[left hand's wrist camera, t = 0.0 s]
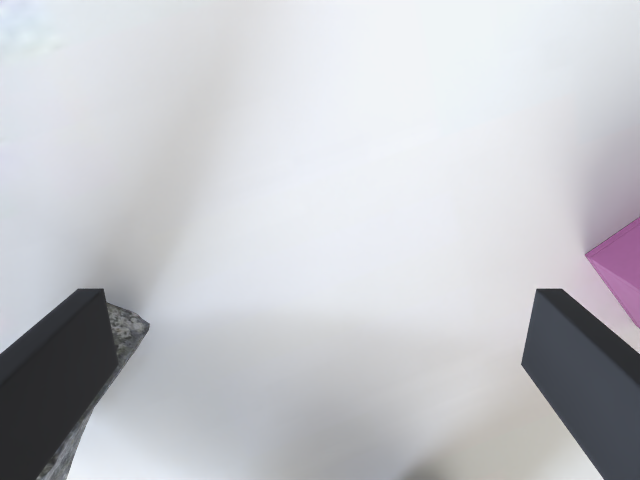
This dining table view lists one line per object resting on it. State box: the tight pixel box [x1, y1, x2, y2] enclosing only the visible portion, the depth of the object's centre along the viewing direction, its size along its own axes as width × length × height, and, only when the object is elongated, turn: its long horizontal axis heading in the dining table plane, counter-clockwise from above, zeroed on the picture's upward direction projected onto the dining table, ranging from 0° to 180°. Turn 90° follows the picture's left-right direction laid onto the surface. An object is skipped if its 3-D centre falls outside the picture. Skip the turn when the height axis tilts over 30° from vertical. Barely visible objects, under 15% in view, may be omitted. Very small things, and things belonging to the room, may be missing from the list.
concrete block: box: [36, 302, 150, 480], centre depth 38 cm, size 27×9×20 cm, turn 147°
